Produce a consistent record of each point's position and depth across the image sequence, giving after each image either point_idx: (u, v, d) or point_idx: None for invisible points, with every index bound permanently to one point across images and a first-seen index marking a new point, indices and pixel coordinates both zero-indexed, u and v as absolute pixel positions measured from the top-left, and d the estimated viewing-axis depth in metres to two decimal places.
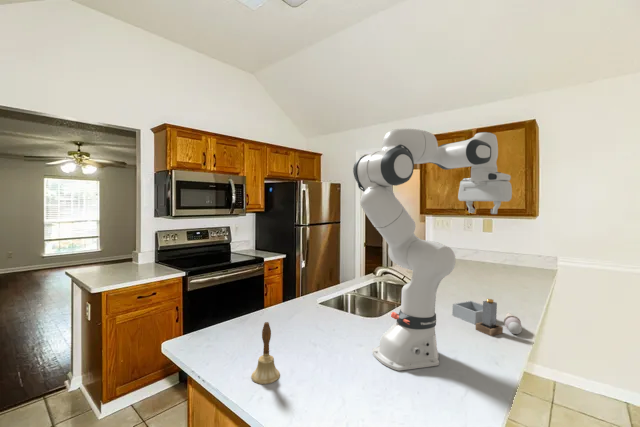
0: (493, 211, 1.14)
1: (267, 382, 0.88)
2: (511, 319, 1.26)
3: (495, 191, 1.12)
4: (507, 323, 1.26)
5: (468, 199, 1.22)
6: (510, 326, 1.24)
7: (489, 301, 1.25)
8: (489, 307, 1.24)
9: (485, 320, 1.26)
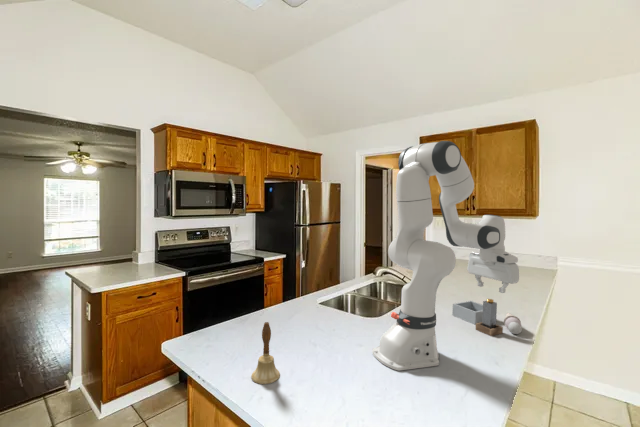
0: (501, 290, 1.21)
1: (267, 382, 0.88)
2: (511, 319, 1.26)
3: (503, 272, 1.19)
4: (507, 323, 1.26)
5: (477, 274, 1.29)
6: (510, 326, 1.24)
7: (489, 301, 1.25)
8: (489, 307, 1.24)
9: (485, 320, 1.26)
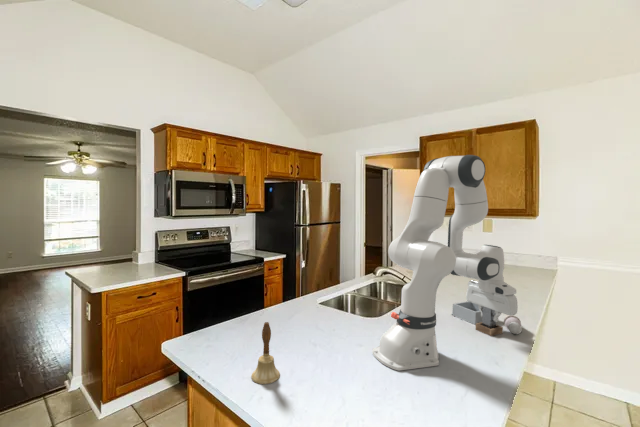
0: (494, 319, 1.23)
1: (267, 382, 0.88)
2: (511, 319, 1.26)
3: (502, 303, 1.20)
4: (507, 323, 1.26)
5: (476, 303, 1.30)
6: (510, 326, 1.24)
7: None
8: None
9: (485, 320, 1.26)
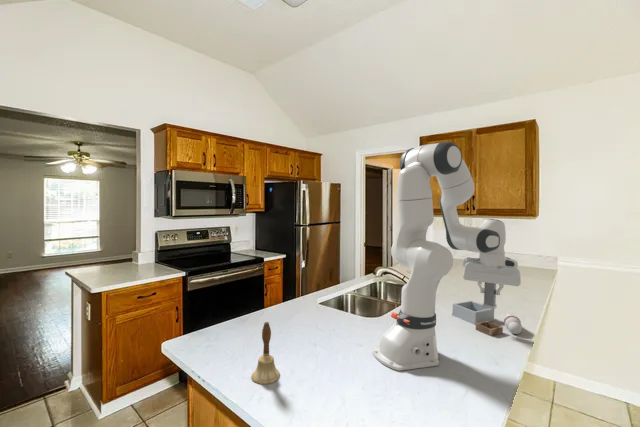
0: (498, 293, 1.24)
1: (267, 382, 0.88)
2: (511, 319, 1.26)
3: (509, 276, 1.21)
4: (507, 323, 1.26)
5: (477, 280, 1.26)
6: (510, 326, 1.24)
7: None
8: None
9: (487, 296, 1.25)
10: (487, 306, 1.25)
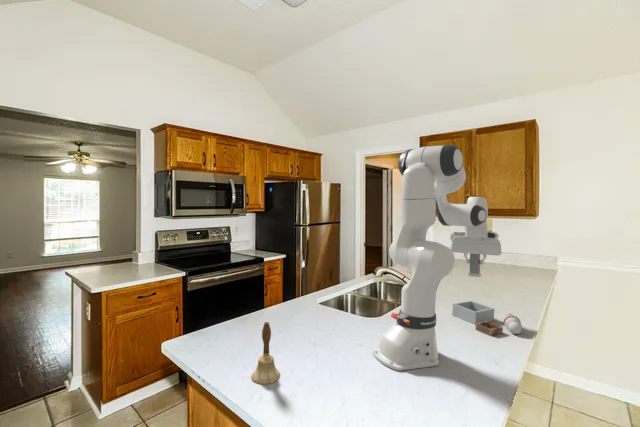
0: (482, 262, 1.38)
1: (267, 382, 0.88)
2: (511, 319, 1.26)
3: (491, 246, 1.36)
4: (507, 323, 1.26)
5: (463, 251, 1.40)
6: (510, 326, 1.24)
7: None
8: None
9: (472, 265, 1.40)
10: (472, 274, 1.39)
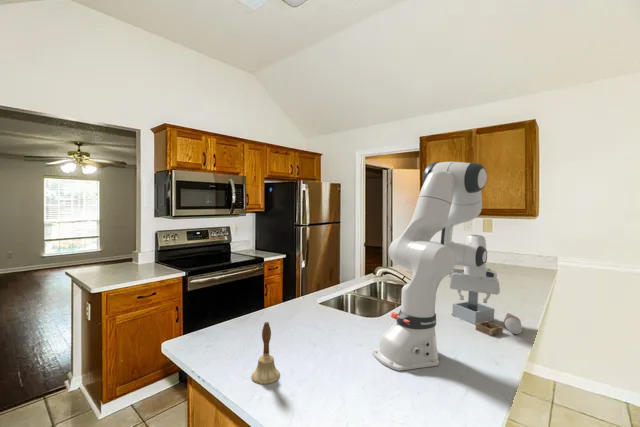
0: (486, 301, 1.38)
1: (267, 382, 0.88)
2: (511, 319, 1.26)
3: (490, 285, 1.36)
4: (507, 323, 1.26)
5: (461, 289, 1.41)
6: (510, 326, 1.24)
7: None
8: (475, 294, 1.39)
9: (471, 307, 1.40)
10: None
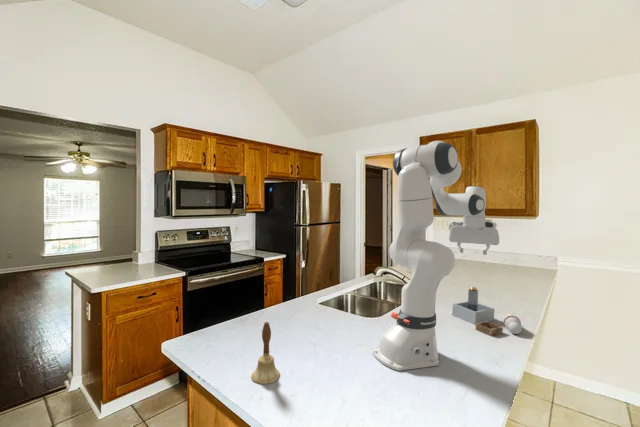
0: (485, 252, 1.37)
1: (267, 382, 0.88)
2: (511, 319, 1.26)
3: (489, 236, 1.36)
4: (507, 323, 1.26)
5: (461, 241, 1.41)
6: (510, 326, 1.24)
7: (474, 289, 1.40)
8: (475, 294, 1.39)
9: (471, 307, 1.40)
10: None
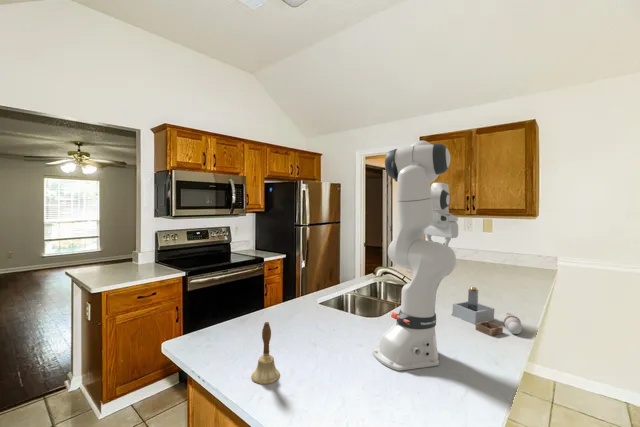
0: (445, 245, 1.45)
1: (267, 382, 0.88)
2: (511, 319, 1.26)
3: (446, 229, 1.44)
4: (507, 323, 1.26)
5: (427, 233, 1.54)
6: (510, 326, 1.24)
7: (474, 289, 1.40)
8: (475, 294, 1.39)
9: (471, 307, 1.40)
10: None
